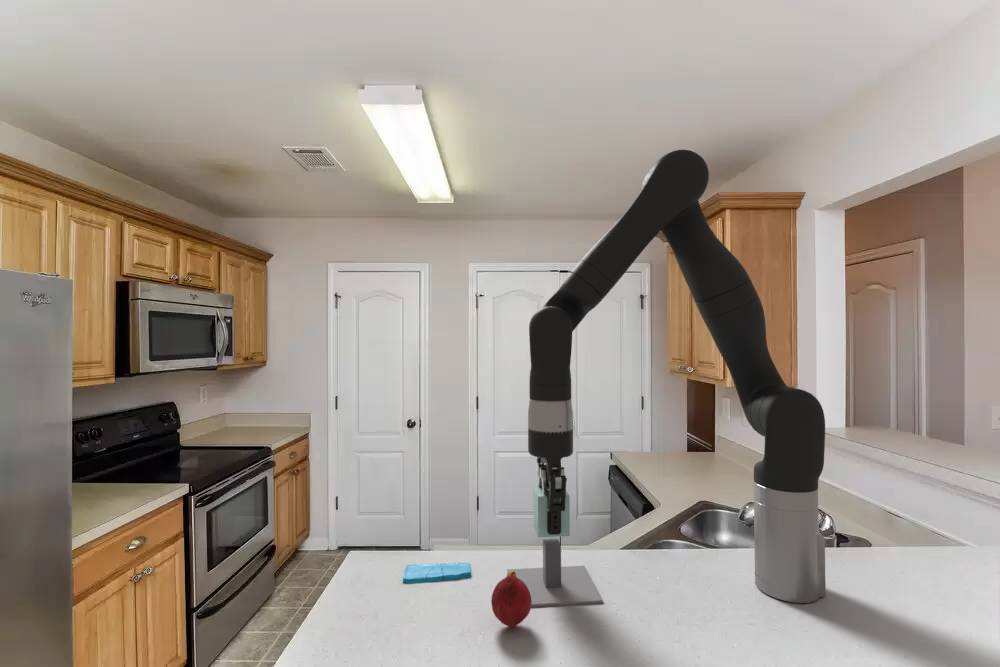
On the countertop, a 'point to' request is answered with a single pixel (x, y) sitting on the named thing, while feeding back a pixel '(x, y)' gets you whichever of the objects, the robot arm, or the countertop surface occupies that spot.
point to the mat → (572, 590)
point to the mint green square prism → (541, 514)
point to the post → (551, 563)
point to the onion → (511, 600)
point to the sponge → (436, 572)
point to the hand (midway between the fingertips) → (550, 526)
